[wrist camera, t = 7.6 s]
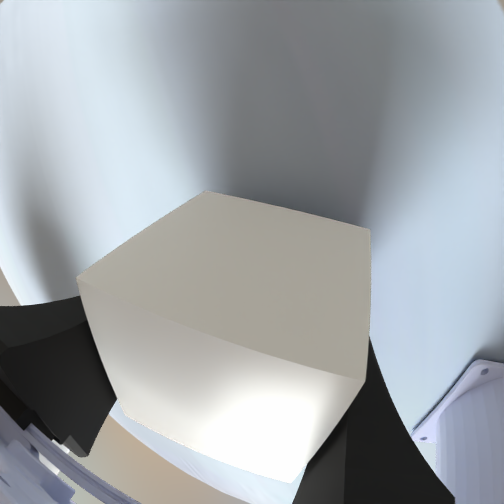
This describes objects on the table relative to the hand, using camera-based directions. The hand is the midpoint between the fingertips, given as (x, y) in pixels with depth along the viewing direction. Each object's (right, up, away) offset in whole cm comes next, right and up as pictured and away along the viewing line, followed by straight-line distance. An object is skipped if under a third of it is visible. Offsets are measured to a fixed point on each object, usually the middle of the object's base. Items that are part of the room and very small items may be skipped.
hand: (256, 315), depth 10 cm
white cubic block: (+1, +1, +1) cm, 2 cm away
